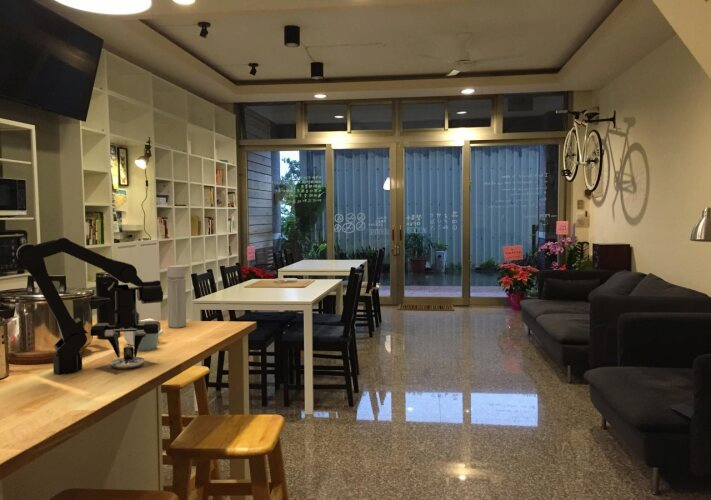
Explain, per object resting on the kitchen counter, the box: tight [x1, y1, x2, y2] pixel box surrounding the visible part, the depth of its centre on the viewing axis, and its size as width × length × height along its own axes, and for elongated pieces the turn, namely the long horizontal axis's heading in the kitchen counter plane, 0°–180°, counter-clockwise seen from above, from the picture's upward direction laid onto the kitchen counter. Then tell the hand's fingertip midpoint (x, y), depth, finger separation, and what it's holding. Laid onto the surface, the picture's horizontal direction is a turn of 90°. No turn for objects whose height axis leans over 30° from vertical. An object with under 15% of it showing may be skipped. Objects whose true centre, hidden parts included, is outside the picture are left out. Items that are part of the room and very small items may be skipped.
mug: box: [123, 318, 164, 347], centre depth 201 cm, size 12×10×8 cm
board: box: [93, 359, 159, 375], centre depth 165 cm, size 14×11×1 cm
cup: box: [133, 320, 159, 352], centre depth 187 cm, size 8×8×10 cm
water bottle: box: [165, 265, 187, 329], centre depth 230 cm, size 9×8×25 cm
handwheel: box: [110, 345, 145, 369], centre depth 164 cm, size 9×9×4 cm
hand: (127, 357), depth 167 cm, fingers open, 4 cm apart
